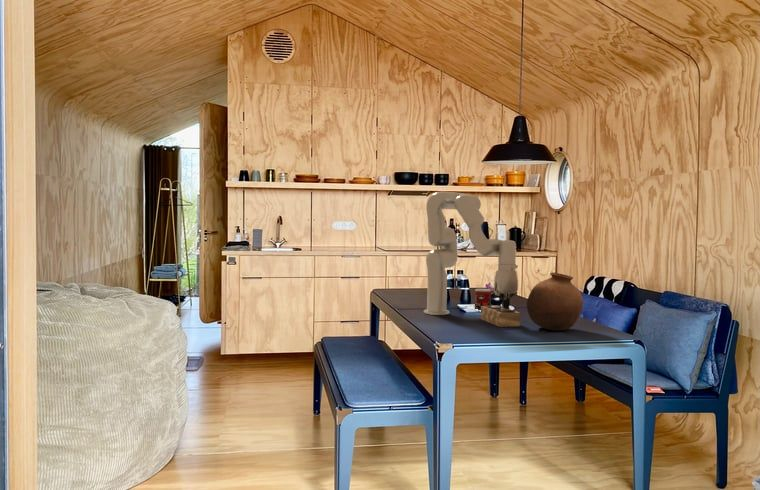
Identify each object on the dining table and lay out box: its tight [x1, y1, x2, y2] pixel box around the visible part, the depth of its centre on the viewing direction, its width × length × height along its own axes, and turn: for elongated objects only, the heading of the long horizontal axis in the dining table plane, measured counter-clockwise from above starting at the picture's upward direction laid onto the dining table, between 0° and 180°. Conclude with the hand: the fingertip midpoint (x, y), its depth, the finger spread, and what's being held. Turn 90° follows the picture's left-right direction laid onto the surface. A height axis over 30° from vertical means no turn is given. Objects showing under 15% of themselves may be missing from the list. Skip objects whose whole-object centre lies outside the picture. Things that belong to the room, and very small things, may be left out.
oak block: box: [480, 304, 521, 328], centre depth 281 cm, size 19×10×7 cm, turn 17°
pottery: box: [526, 271, 584, 332], centre depth 266 cm, size 23×23×25 cm
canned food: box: [474, 288, 492, 310], centre depth 312 cm, size 8×8×11 cm
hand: (505, 308), depth 276 cm, fingers closed
